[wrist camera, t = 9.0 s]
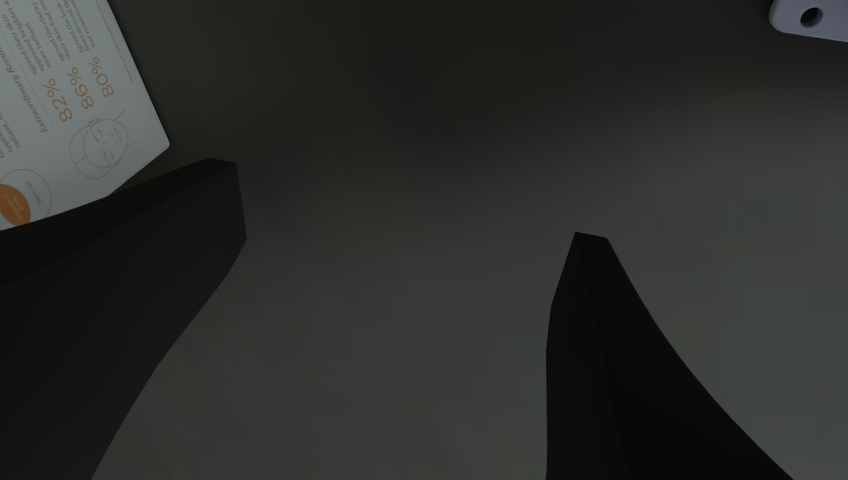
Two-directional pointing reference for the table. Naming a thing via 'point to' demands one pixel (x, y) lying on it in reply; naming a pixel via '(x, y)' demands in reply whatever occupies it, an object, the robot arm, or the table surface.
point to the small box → (68, 108)
